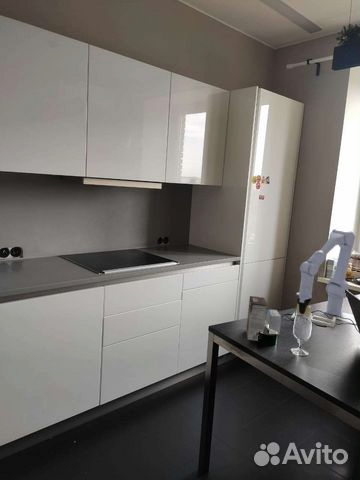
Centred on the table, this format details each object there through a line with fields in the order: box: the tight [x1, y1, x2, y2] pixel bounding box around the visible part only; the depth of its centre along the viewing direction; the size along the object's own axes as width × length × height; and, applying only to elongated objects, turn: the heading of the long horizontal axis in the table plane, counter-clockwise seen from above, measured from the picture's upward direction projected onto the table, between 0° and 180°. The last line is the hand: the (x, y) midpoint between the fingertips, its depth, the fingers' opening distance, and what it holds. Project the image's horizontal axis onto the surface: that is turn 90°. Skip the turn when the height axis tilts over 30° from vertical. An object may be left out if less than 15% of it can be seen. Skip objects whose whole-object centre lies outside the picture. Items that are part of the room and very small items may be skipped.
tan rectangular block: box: [295, 304, 312, 317], centre depth 177 cm, size 3×6×6 cm, turn 60°
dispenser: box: [310, 314, 337, 328], centre depth 173 cm, size 7×11×3 cm, turn 60°
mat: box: [290, 311, 313, 319], centre depth 178 cm, size 9×9×1 cm
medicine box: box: [265, 309, 282, 336], centre depth 158 cm, size 8×4×9 cm, turn 179°
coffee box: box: [245, 295, 268, 342], centre depth 151 cm, size 9×6×16 cm
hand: (302, 312), depth 178 cm, fingers open, 3 cm apart
